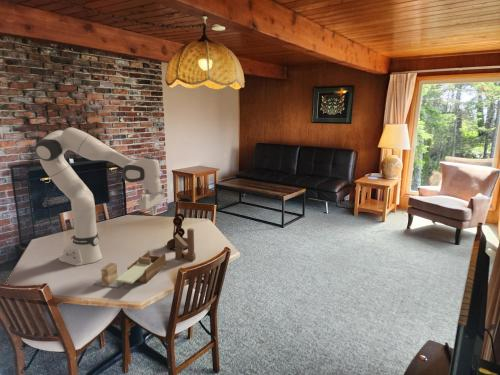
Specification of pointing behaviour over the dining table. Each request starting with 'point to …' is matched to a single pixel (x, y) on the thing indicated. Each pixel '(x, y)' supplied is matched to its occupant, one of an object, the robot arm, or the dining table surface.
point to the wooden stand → (185, 246)
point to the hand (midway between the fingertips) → (153, 213)
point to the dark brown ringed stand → (177, 230)
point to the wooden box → (151, 267)
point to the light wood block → (109, 274)
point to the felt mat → (114, 284)
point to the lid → (135, 271)
